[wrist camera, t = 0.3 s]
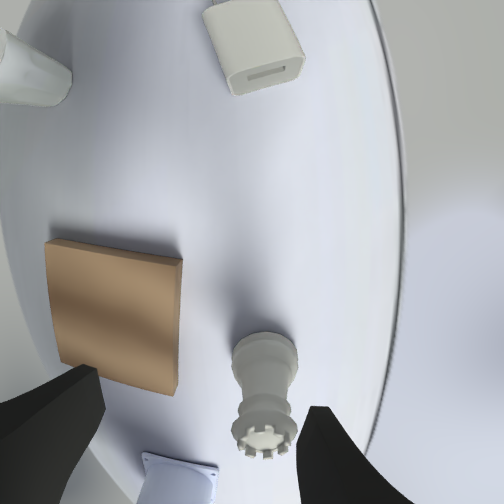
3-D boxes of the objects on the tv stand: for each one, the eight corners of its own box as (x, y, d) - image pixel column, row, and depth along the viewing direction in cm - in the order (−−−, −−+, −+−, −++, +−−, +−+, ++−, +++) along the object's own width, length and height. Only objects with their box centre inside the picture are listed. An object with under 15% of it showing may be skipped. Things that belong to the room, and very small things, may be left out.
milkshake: (25, 93, 15) (-67, 76, 5) (71, 48, 14) (-18, 4, 4) (37, 134, 16) (-67, 130, 6) (87, 88, 15) (-19, 50, 5)
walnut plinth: (178, 384, 20) (173, 396, 19) (69, 352, 20) (61, 361, 19) (182, 259, 18) (175, 266, 16) (56, 238, 18) (44, 242, 16)
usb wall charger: (233, 98, 15) (224, 75, 11) (200, 13, 14) (187, -19, 10) (298, 79, 15) (307, 53, 11) (260, -3, 13) (258, -38, 9)
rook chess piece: (310, 355, 19) (330, 443, 11) (263, 389, 20) (261, 477, 12) (266, 315, 18) (267, 401, 11) (218, 353, 19) (197, 441, 12)
